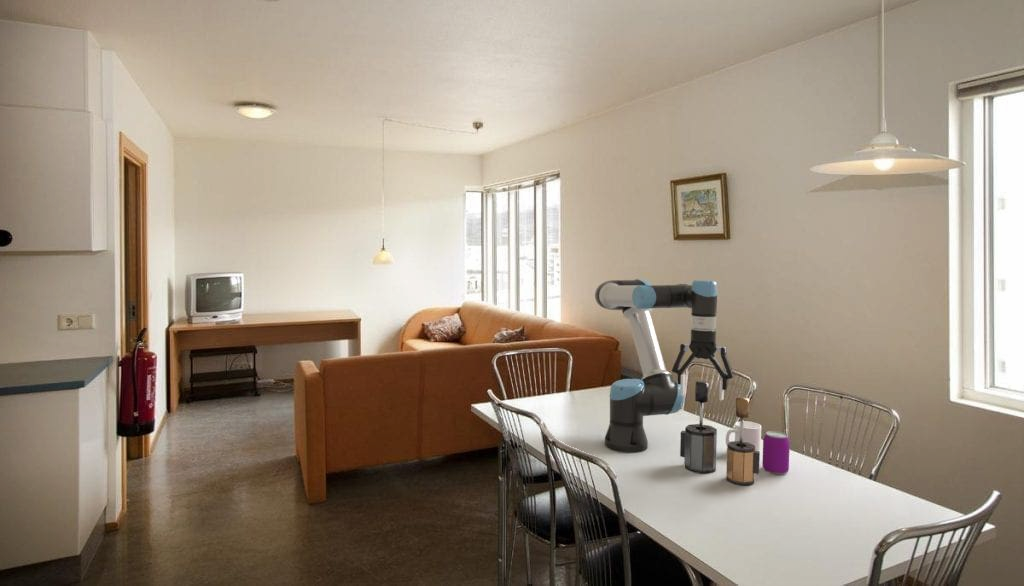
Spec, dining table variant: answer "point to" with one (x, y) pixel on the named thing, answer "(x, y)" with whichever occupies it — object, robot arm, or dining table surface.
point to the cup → (747, 434)
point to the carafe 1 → (699, 448)
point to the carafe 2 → (742, 463)
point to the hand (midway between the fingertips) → (701, 397)
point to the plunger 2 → (742, 413)
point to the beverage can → (776, 452)
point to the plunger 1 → (701, 397)
